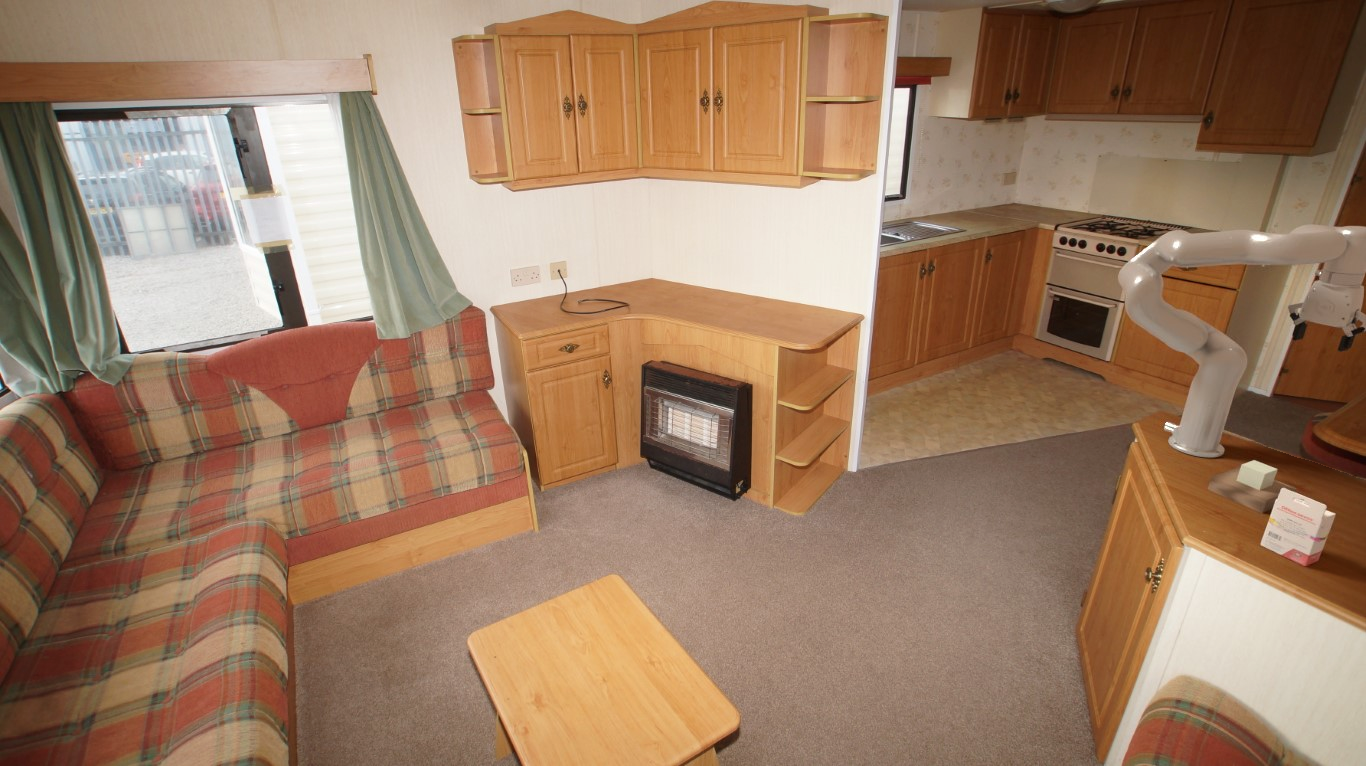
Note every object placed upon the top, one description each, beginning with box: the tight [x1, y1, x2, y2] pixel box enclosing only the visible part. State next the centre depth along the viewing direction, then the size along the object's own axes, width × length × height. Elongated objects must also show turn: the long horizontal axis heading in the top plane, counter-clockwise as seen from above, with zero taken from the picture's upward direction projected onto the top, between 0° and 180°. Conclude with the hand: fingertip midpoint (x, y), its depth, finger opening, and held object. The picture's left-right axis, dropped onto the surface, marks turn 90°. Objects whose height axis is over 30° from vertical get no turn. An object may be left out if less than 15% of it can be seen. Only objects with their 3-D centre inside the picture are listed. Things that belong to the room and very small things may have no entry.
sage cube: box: [1236, 459, 1278, 490], centre depth 161 cm, size 5×5×4 cm
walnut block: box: [1207, 466, 1297, 514], centre depth 162 cm, size 12×12×4 cm
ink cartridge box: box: [1260, 488, 1336, 567], centre depth 139 cm, size 9×5×15 cm, turn 22°
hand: (1319, 344), depth 167 cm, fingers open, 9 cm apart
